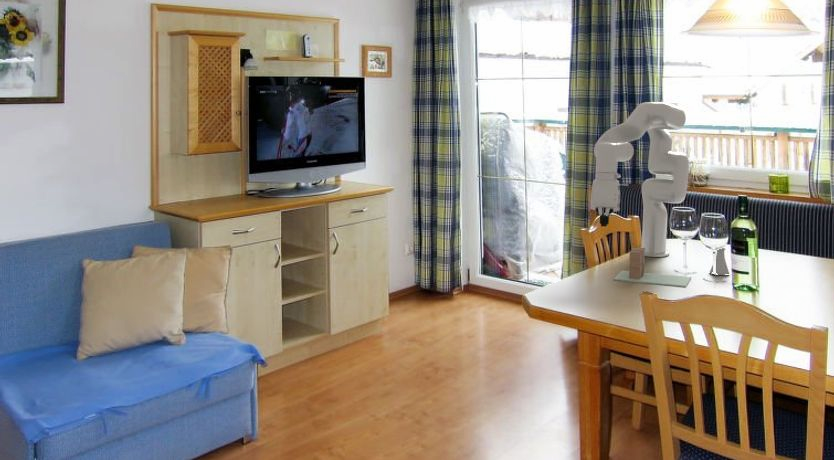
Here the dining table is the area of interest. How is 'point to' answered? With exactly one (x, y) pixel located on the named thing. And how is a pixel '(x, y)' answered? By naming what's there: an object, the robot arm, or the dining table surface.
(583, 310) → the dining table surface
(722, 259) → the flask
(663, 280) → the sage mat
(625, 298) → the dining table surface
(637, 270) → the walnut slab
